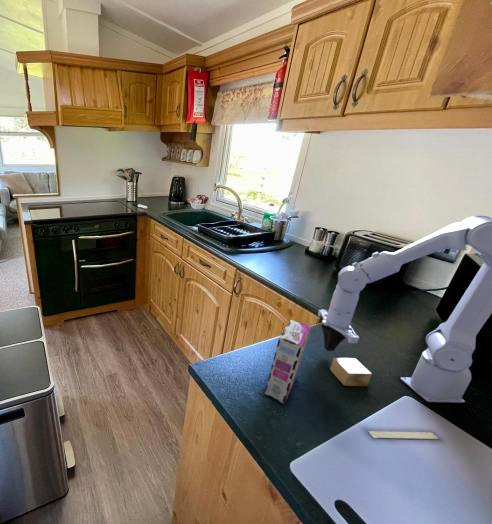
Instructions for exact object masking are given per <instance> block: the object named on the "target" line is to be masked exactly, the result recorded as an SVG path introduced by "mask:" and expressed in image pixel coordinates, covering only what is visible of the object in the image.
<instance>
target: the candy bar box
mask: <svg viewBox="0 0 492 524" xmlns="http://www.w3.org/2000/svg"><path fill="white" fill-rule="evenodd" d="M311 330H312V326H310V325H308V324H304V323H302V322H300V321H296V320H293V319H290V320H289V322H288V324H287V325H286V326H285V328H284V329H283V331H282V332H281V333H280V335H279V337H278V340H277V345H276V348H275V353H274V355H273V360H272V364H271V368H270V371H269V375H268V379H267V382H266V386H265V391H264V395H265V396H267V397H270V398H271V399H273V400H275V401H277V402H279V403H281V404H283V405H285V404H286V402H287V400H288V397H289V395H290V393H291V391H292V389H293V386H294V384H295V381H296V379H297V376H298V373H299V370H300V366H301V363H302V362H301V361H302V359H303V356H304V352H305V349H306V346H307V342H308V339H309V336H310V333H311Z"/></svg>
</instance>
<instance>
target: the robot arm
mask: <svg viewBox="0 0 492 524" xmlns="http://www.w3.org/2000/svg"><path fill="white" fill-rule="evenodd" d="M466 245H468V246H469V247H471V248H472V249H473V250H474V251H475V252H476V254H477V256H479V258H480V259H481V261H482V262H483V263H482V265H481V266H480V268H479V270H478V271H477V273H476V274H475V276H474V277H473V279H472V280H471V282H470V284H469V286H468V287H467V288H466V290H465V292H464V294H463V295H462V296H461V298H460V300H459V301H458V303H457V304H456V306H455V308H454V309H453V310H452V312H451V314H450V315H449V317H448V319H446V321H444V322H442V323H439V325H438V326H437V328H435V329H434V330H432V331H430V332H429V333H428V334H427V335H426V336H425V343H426V346H428V347H427V348H426V349H425V350H423V351H422V352H421V355H420V357H419V360H418V362H417V364H416V366H415V369H414V370H413V373H412V376H411V377H409V376H408V377H407V376H406V377H405V376H404V377H403V376H401V377H400V380H401V381H402V382H403V383H404V384H405V385H407V387H409V388H410V389H411V390H412V391H414V392H415V393H416V394H417V395H418V396H420V398H422V399H423V400H425V401H426V402H428V403H452V404H453V403H454V404H457V403H458V404H459V403H461V404H464V403H465V402H466V400H464V399H463V396H464V394H465V392H466V391H467V389H468V387H469V385H470V383H471V381H472V372H471V370H470V369H469V368H470V367H471V366H472V364H473V358H472V356H473V354H474V351H475V350H476V343H477V342H476V341H477V340H476V339H477V335H478V334H479V332H480V330H481V329H482V328H483V326H484V325H485V323H486V322H487V320H488V319H489V318H490V317H491V315H492V217H490V216H486V215H474V216H470V217H467V218H465V219H463V220H462V221H458V222H454V223H451V224H449V225H447V226H445V227H442V228H441V229H439V230H437V231H435V232H433V233H431V234H429V235H426V236H425V237H423V238H421V239H418V240H416V241H414V242H412V243H411V244H408V245H406V246H404V247H401V249H397V250H396V251H394V252H390V251H381V252H379V251H375V252H373V253H371V257H368V258H366V259H364V260H362V261H360V262H353V263H352V264H351V265H347V266H344V267H343V268H341V269H340V271H339V272H338V273H337V277H338V278H337V284H336V286H335V290H334V291H333V293H332V297H331V300H330V303H329V308H328V310H327V309H318V313H317V316H318V317H320V318H322V320H321V323H322V324H321V326H320V327H321V330H322V333H323V345H324V346H323V347H324V349H325V350H326V351H328V352H334V351H335V350H336V348H337V347H338V346H339V345H340V344H341V343H342V342H343V341H344V340H347V342H348V343H349V344H358V342H359V340H360V336H359V335H357V333H356V332H355V331H354V329H353V327H352V325H351V324H352V320H353V317H354V314H355V311H356V308H357V305H358V302H359V299H360V293H361V291H363V290H364V289H365V287H366V286H367V284H371V283H375V282H376V281H379V280H381V279H384V278H386V277H388V276H391V275H393V274H396V273H398V272H400V270H401V267H402V266H403V265H405V264H407V263H409V262H412V261H415V260H417V259H421V258H423V257H426V256H428V255H431V254H433V253H437V252H439V251H442V250H455V251H456V250H457V251H467V246H466Z"/></svg>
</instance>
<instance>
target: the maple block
mask: <svg viewBox="0 0 492 524" xmlns="http://www.w3.org/2000/svg"><path fill="white" fill-rule="evenodd" d="M329 370H330V371H331V373H332V374H333V375H334V376H335V377H336V378H337V380H339V382H341V384H342V385H343V386H345V387H347V386H348V387H368V385H369V383H370V380H371V377H372V375H373V374H372V372H371V371H370V370H369V369H368V368H366V367H365V366H364V365H363V364H362V363H361V362H360V361H359V360H358V359H357V358H356V357H333V359H332V362H331V365H330V368H329Z"/></svg>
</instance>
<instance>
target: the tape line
mask: <svg viewBox="0 0 492 524" xmlns="http://www.w3.org/2000/svg"><path fill="white" fill-rule="evenodd" d="M367 433H368V434H369V435H370V436H371V437H372V438H373V439H411V440H416V439H418V440H439V437H437V435H435V434H434V433H433V432H429V431H428V432H426V431H425V432H424V431H386V430H385V431H383V430H382V431H381V430H380V431H379V430H368V431H367Z"/></svg>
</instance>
